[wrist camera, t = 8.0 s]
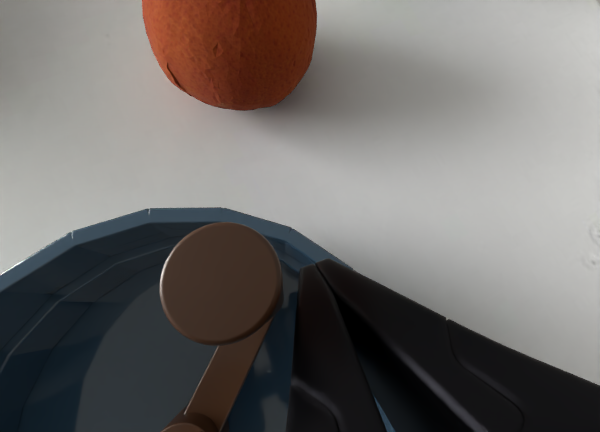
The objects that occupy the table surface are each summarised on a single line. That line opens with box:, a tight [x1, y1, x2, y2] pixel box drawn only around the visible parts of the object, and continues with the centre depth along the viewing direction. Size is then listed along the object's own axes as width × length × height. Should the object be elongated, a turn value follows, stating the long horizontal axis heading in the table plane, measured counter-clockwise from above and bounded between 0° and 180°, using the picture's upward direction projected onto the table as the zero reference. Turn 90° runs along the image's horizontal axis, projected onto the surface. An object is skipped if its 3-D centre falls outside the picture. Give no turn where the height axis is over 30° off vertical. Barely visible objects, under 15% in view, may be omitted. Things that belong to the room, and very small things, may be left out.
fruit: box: [142, 0, 317, 110], centre depth 15 cm, size 9×9×8 cm
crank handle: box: [160, 222, 284, 432], centre depth 8 cm, size 2×8×10 cm, turn 155°
